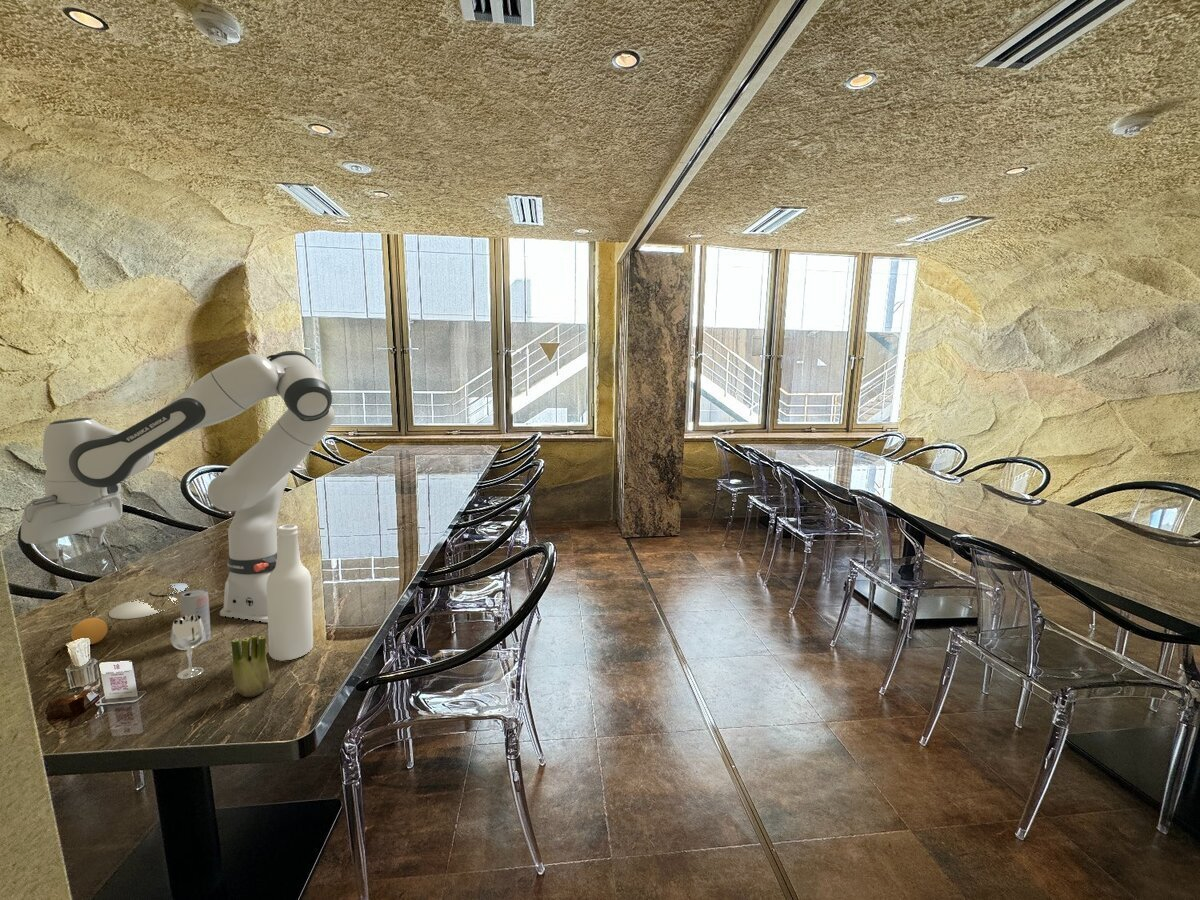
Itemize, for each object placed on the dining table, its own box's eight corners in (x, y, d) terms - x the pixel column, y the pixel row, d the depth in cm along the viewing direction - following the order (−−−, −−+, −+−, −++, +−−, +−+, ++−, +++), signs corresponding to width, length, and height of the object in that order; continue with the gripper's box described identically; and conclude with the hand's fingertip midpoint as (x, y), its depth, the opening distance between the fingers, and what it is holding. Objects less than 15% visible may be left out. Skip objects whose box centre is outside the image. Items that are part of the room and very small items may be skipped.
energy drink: (187, 637, 127) (184, 589, 125) (214, 634, 129) (211, 587, 127) (178, 648, 122) (175, 598, 120) (206, 644, 124) (203, 596, 122)
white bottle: (264, 651, 122) (259, 525, 118) (306, 639, 128) (303, 519, 124) (275, 667, 116) (269, 534, 112) (318, 653, 122) (315, 527, 118)
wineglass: (213, 666, 115) (211, 613, 114) (194, 681, 110) (191, 626, 108) (186, 665, 115) (183, 613, 113) (166, 680, 109) (162, 625, 108)
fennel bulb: (230, 697, 105) (227, 640, 103) (250, 683, 109) (247, 629, 108) (256, 701, 104) (253, 644, 102) (275, 687, 109) (272, 632, 107)
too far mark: (196, 587, 155) (196, 586, 155) (162, 598, 147) (162, 597, 147) (177, 581, 159) (177, 581, 159) (142, 592, 150) (142, 591, 150)
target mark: (189, 602, 145) (189, 602, 145) (128, 623, 132) (128, 622, 132) (158, 593, 150) (158, 592, 150) (96, 612, 137) (96, 611, 137)
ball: (114, 641, 124) (112, 616, 123) (81, 652, 118) (79, 627, 117) (99, 635, 126) (97, 611, 125) (66, 646, 120) (64, 621, 120)
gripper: (40, 502, 107) (44, 568, 108) (127, 483, 127) (129, 539, 129) (8, 500, 106) (12, 566, 108) (100, 481, 127) (102, 537, 128)
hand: (76, 551), depth 118 cm, fingers open, 8 cm apart
